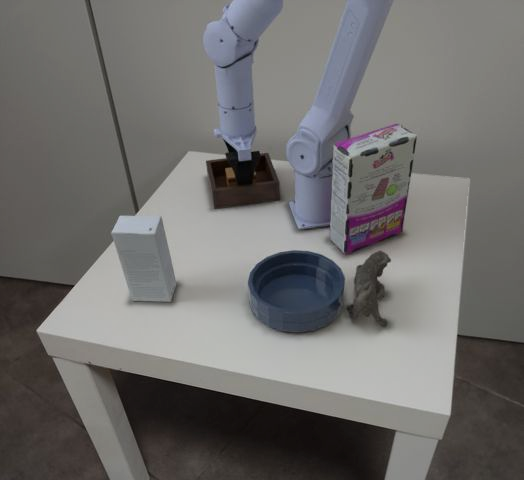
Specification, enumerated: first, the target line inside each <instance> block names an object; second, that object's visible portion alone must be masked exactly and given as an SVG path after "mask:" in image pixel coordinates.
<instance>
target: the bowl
mask: <svg viewBox="0 0 524 480" xmlns="http://www.w3.org/2000/svg"><path fill="white" fill-rule="evenodd" d="M345 283H346V277H345V275H344V272H343V270H342V268H341V267H340V266H339V265H338V264H337V263H336V262H335V261H334V260H333V259H331V258H329V257H327V256H325V255H323V254H321V253H318V252H314V251H310V250H300V249H299V250H296V249H294V250H285V251H280V252H277V253H274V254H271V255H267V256H266V257H265V258H263V259H261V260H260V261H259V262H257V263H256V264H255V265H254V267H253V268H252V269H251V271H250V272H249V277H248V280H247V291H248V301H249V305H250V309H251V311H252V313H253V314H254V316H255V317H256V318H257V319H258V320H259V321H260V322H262V323H263V324H265V325H266V326H268V327H270V328H273V329H274V330H278V331H281V332H289V333H290V332H291V333H303V332H310V331H315V330H317V329H320V328H322V327H324V326H327V325H328V324H330V323H331V322H332V321H334V319H336V318H337V317H338V315H339V314H340V312H341V311H342V309H343V307H344V297H345V285H346V284H345Z"/></svg>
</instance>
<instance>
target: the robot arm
mask: <svg viewBox="0 0 524 480" xmlns="http://www.w3.org/2000/svg"><path fill="white" fill-rule="evenodd" d="M393 3H394V0H346V3H345V7H344V10H343V13H342V16H341V18H340V22H339V24H338V27H337V31H336V34H335V37H334V40H333V43H332V46H331V49H330V51H329V55H328V58H327V61H326V64H325V67H324V70H323V73H322V76H321V79H320V81H319V84H318V88H317V91H316V94H315V97H314V100H313V103H312V106H311V107H310V109H309V110H308V111H307V113H306V115H304V117H303V119H302V120H301V121H300V123H299V125H298V128H297V131H296V133H295V134H293V136H292V137H290V139H288V141H287V143H286V146H285V155H286V158H287V161H288V163H289V165H290V166H291V168H292V169H293V172H294V181H295V183H294V200H290V201H289V202H288V205H289V208H290V211H291V213H292V216H293V219H294V222H295V224H296V227H297V229H298V230H307V229H315V228H321V227H329V226H330V220H331V195H332V168H333V144H334V143H337V142H341V141H344V140H347V139H350V138H352V131H351V129H352V128H351V127H352V123H353V119H354V117H355V116H354V113H353V112H352V111H351V109H352V106H353V103H354V102H355V99H356V96H357V93H358V92H359V89H360V85H361V83H362V81H363V79H364V77H365V73H366V71H367V69H368V66H369V63H370V61H371V58H372V55H373V53H374V51H375V49H376V45H377V43H378V41H379V38H380V35H381V34H382V31H383V28H384V26H385V23H386V21H387V18H388V16H389V13H390V11H391V9H392V6H393ZM283 8H284V0H232V1H231V3H229V4H226V5H225V6H224V7H223V8H222V11H221V12H222V13H223V14H222V16H221V19H219V20H214V21H212V22H210V23H208V24H207V25H206V29H205V30H204V33H203V37H202V41H203V48H204V50H205V53H206V55H207V57H208V59H209V60H210V62H212V63H213V68H214V76H215V87H216V95H217V105H218V113H219V114H218V116H219V124H220V127H218V128H214V129H213V134H214V137H215V139H216V138H217V139H222V140H223V142H224V144H225V146H226V149H227V152H225V154H224V155H225V158H226V159H227V161H228V163H229V165H230V166H231V168H232V169H233V172H234V174H235V178H236V182H237V185H245V184H252V183H253V177H254V172H255V169H256V166H257V164H258V162H259V161H260V157H261V155H260V154H261V153H260V150H255V151H252V146H253V143H254V140H255V138H256V135H257V132H258V131H257V125H256V115H255V100H254V85H253V83H254V81H253V64H254V54H255V52H256V50H257V49H258V46H259V42H260V41H259V40H260V37H261V36H262V35H263V34H264V32H265V31H266V30H267V29H268V28H269V27H270V25H271V24H272V23H273V22H274V20H276V18H277V17H278V16H279V15H280V14H281V12H282V10H283Z"/></svg>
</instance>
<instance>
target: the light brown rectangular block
mask: <svg viewBox="0 0 524 480" xmlns="http://www.w3.org/2000/svg"><path fill="white" fill-rule="evenodd" d="M225 171H226V180H227V186H228V187H230V186H237V182H236V178H235V174H234V172H233V169H232V168H225ZM253 183H257V182H256V173H255V172H254V177H253Z"/></svg>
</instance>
